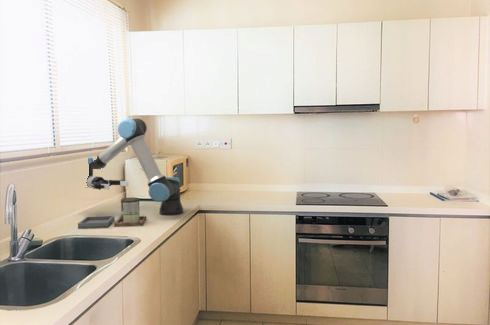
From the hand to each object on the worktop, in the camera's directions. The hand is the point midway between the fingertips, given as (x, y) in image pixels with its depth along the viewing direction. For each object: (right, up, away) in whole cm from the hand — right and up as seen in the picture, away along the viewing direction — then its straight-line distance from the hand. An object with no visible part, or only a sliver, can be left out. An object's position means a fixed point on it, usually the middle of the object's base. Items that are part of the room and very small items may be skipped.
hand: (118, 185), depth 241 cm
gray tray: (-11, -22, -6) cm, 25 cm away
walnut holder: (+8, -22, -4) cm, 23 cm away
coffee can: (+8, -22, -4) cm, 23 cm away
